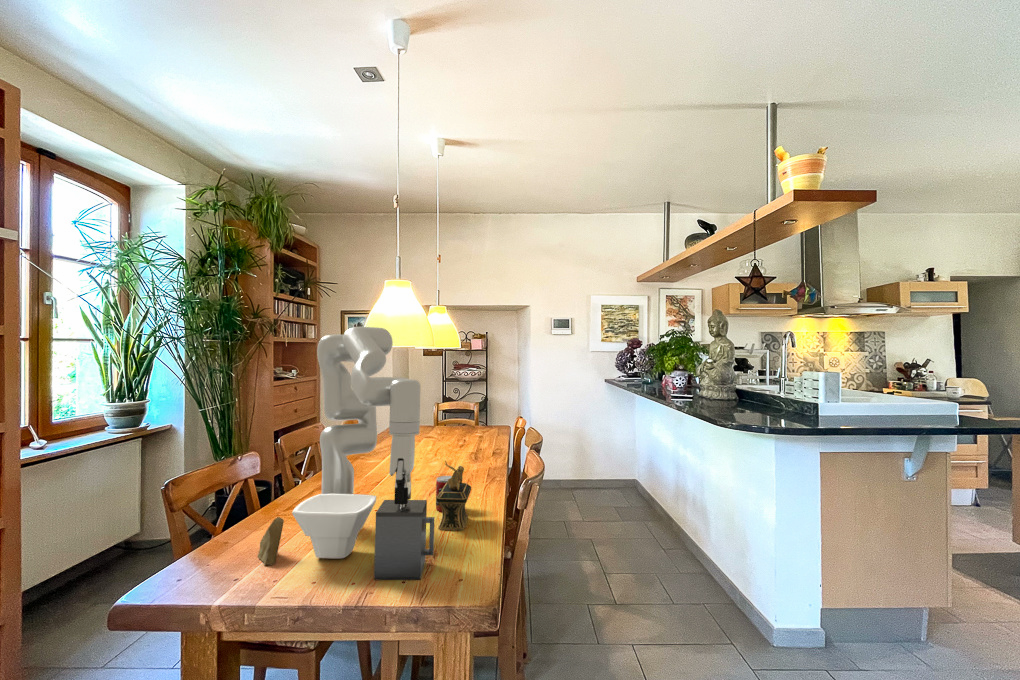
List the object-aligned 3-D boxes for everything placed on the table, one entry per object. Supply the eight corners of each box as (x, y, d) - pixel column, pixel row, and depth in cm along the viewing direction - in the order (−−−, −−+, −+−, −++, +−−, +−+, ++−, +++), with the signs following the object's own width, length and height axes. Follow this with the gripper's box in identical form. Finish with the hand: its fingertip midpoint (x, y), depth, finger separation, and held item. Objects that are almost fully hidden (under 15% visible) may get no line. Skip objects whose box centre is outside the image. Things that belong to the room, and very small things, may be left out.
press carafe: (374, 580, 123) (375, 512, 124) (382, 561, 134) (384, 499, 135) (430, 579, 124) (432, 512, 124) (434, 561, 135) (436, 500, 135)
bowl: (313, 541, 148) (315, 492, 148) (380, 543, 147) (382, 494, 147) (283, 568, 129) (284, 512, 129) (359, 571, 128) (361, 514, 129)
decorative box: (442, 515, 175) (443, 456, 175) (470, 516, 174) (472, 457, 175) (432, 535, 155) (433, 469, 155) (464, 536, 154) (465, 470, 155)
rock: (283, 557, 130) (300, 538, 140) (262, 531, 129) (280, 514, 139) (250, 581, 131) (269, 560, 141) (229, 555, 130) (249, 536, 140)
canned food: (431, 511, 179) (432, 479, 179) (443, 505, 186) (443, 474, 187) (451, 514, 176) (451, 481, 177) (461, 508, 184) (462, 476, 184)
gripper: (395, 423, 138) (393, 492, 138) (383, 432, 122) (381, 511, 121) (423, 424, 139) (421, 492, 138) (415, 433, 122) (413, 511, 121)
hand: (402, 500), depth 130 cm, fingers open, 4 cm apart
